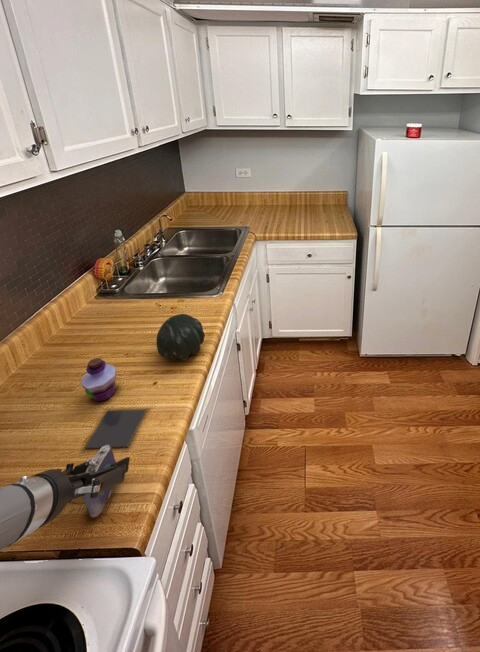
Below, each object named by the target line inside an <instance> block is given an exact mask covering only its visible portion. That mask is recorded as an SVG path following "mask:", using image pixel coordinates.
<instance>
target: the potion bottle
mask: <svg viewBox="0 0 480 652" xmlns="http://www.w3.org/2000/svg"><path fill="white" fill-rule="evenodd" d="M85 370H86V373H85V374H83V377H82V379H81V383H80V386H81V387H82V388H83V389H84V392H85V394H86V395H87V396H88V397H90V398H93V401H95V402H96V403H99V404H100V403H103V402H106V401H109V400H110V399H111V398H112V397H113V396H115V394H116V391H117V388H116V379H117V367H116V366H113V365H112V364H109V363H108V364H106V361H105V360H103V359H102V358H101V357H95V358H91V359H90V360H89V361H88V363H87V366H86V369H85Z"/></svg>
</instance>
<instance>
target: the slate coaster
mask: <svg viewBox="0 0 480 652" xmlns="http://www.w3.org/2000/svg"><path fill="white" fill-rule="evenodd" d="M146 411H147V410H146V409H132V410H130V409H129V410H128V409H127V410H108V411H107V412H106V413H105V415H104V416H103V418H102V420H101V421H100V423H99V425H98V426H97V428H96V429H95V431H94V433H93V434H92V435H91V437H90V439H89V441H88V442H87V444H86V446H85V447H84V449H85V450H89V449H90V450H93V449H94V450H95V449H100V448H102V447H103V446H105V445H111V448H112V449H115V448H117V449H118V448H129V446H130V444H131V442H132V439H133V438H134V436H135V433H136V432H137V429H138V428H139V426H140V424H141V421H142V420H143V417H144V416H145V414H146Z"/></svg>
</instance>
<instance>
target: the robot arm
mask: <svg viewBox="0 0 480 652" xmlns="http://www.w3.org/2000/svg"><path fill="white" fill-rule="evenodd" d="M130 459H131V457H130V456H127V457H125V458H124V457H123V458H122V459H120V460H118V461H116V463H114V464H112V465H111V466H110V467H109V468H106V469H103V470H100V471H97V472H93V473H85V472H86V470H87V468H88V466H89V462H87V461H85V462H82V463H79V464H77V465H75V463H74V462H71V463H70V462H69V463H67V464H66V465H65V466H66V467H65V469H64V470H63V469H62V468H53V469H46V470H43V471H40V472H38V473H36V474H33V475H31V476H29V475H27V474H26V475H22V476H20V478H19V480H18V481H16V482H14V483H10V484H7V485H5V486H1V487H0V552H1V551H2V550H5V549H6V548H9V547H10V546H12V545H14V544H15V543H17V542H19V541H21V540H22V539H24V538H26V537H28V536H29V535H31V534H33V533H34V532H36V531H37V530H39V529H41V528H42V527H44V526H46V525H48V524H49V523H51V522H53V520H55V519H56V518H57V517H59V516H60V515H61V514H62V512H63V510H64V509H65V508H66V506H67V505H68V504H70V503H72V501H75V500H77V499H80V498H83V496H84V495H85V494H86V493H89V495H88V496H90V498H95V497H97V496H98V495H99V494H100V493H102V492H104V491H106V490H108V489H110V488H111V487H113V486H114V487H115V486H118V485H119V484H121V483H123V482H125V475H126V473H128V472H129V467H130V466H129V465H130V461H131V460H130ZM89 461H91V459H90V460H89ZM86 463H87V465H86ZM74 465H75V466H74ZM114 487H113V488H114Z"/></svg>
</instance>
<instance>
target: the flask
mask: <svg viewBox="0 0 480 652" xmlns="http://www.w3.org/2000/svg"><path fill="white" fill-rule="evenodd" d="M89 460H91V461H89ZM86 462H89V466H88V468H87V470H86V472H85V473H93V472H97V471H100V470H103V469H106V468H109V467H110V466H111V465H112V464H114V463H116V462H117V461H116V459H115V455H114V451H113V448H111V445H105V446H103V447H102V448H99V449H98V451H97V452H96V454H94V456H93V457H88V458H87V459H86ZM86 465H87V463H86ZM114 487H115V486H113V487H111V488H110V489H108V490H106V491H104V492H102V493H100V494H99V495H98V496H97V497H95V498H90V496H88V495H89V493H86V494H85V495H84V496H82V499H83V501H84V503H85V505H86V509H87V511H88V514H89V516H90V517H91V518H92V519H93V518H98V517H100V516H101V514H102V513H103V512H104V510H105V508H106V504H107V502H108V501H109V498H110V497H111V494H112V489H113V488H114Z"/></svg>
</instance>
